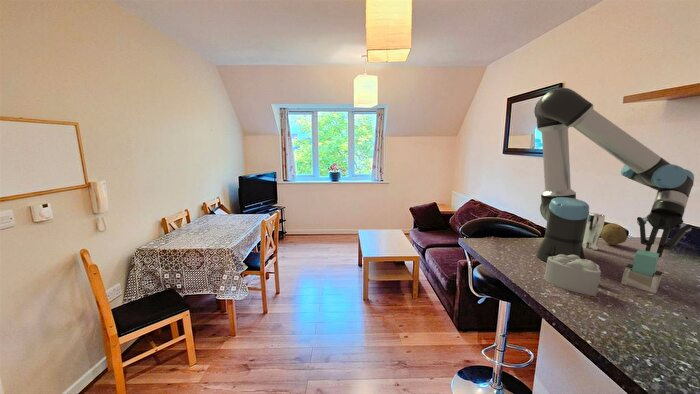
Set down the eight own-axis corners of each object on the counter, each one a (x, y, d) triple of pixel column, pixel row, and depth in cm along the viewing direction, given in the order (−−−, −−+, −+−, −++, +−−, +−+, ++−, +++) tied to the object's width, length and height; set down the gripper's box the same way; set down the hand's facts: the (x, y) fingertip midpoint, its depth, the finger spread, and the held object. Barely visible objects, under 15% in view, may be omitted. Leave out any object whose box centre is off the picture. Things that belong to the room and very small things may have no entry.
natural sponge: (591, 241, 132) (595, 220, 130) (609, 241, 133) (613, 220, 131) (611, 248, 123) (615, 226, 122) (629, 248, 124) (634, 226, 122)
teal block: (632, 278, 91) (639, 249, 90) (651, 284, 88) (659, 253, 86) (628, 283, 88) (635, 253, 86) (648, 289, 84) (656, 258, 83)
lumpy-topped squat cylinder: (597, 297, 81) (603, 269, 80) (543, 283, 89) (547, 257, 87) (594, 284, 90) (599, 258, 88) (545, 272, 97) (549, 248, 96)
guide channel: (624, 273, 98) (627, 257, 97) (666, 284, 91) (671, 267, 90) (614, 286, 89) (617, 268, 88) (660, 300, 81) (665, 281, 80)
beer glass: (597, 247, 124) (603, 214, 121) (600, 252, 118) (607, 217, 116) (577, 243, 128) (583, 211, 125) (579, 248, 122) (585, 214, 119)
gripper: (696, 217, 95) (679, 276, 89) (642, 209, 106) (623, 262, 99) (699, 203, 91) (681, 264, 84) (642, 197, 101) (622, 251, 95)
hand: (649, 263), depth 92 cm, fingers closed
